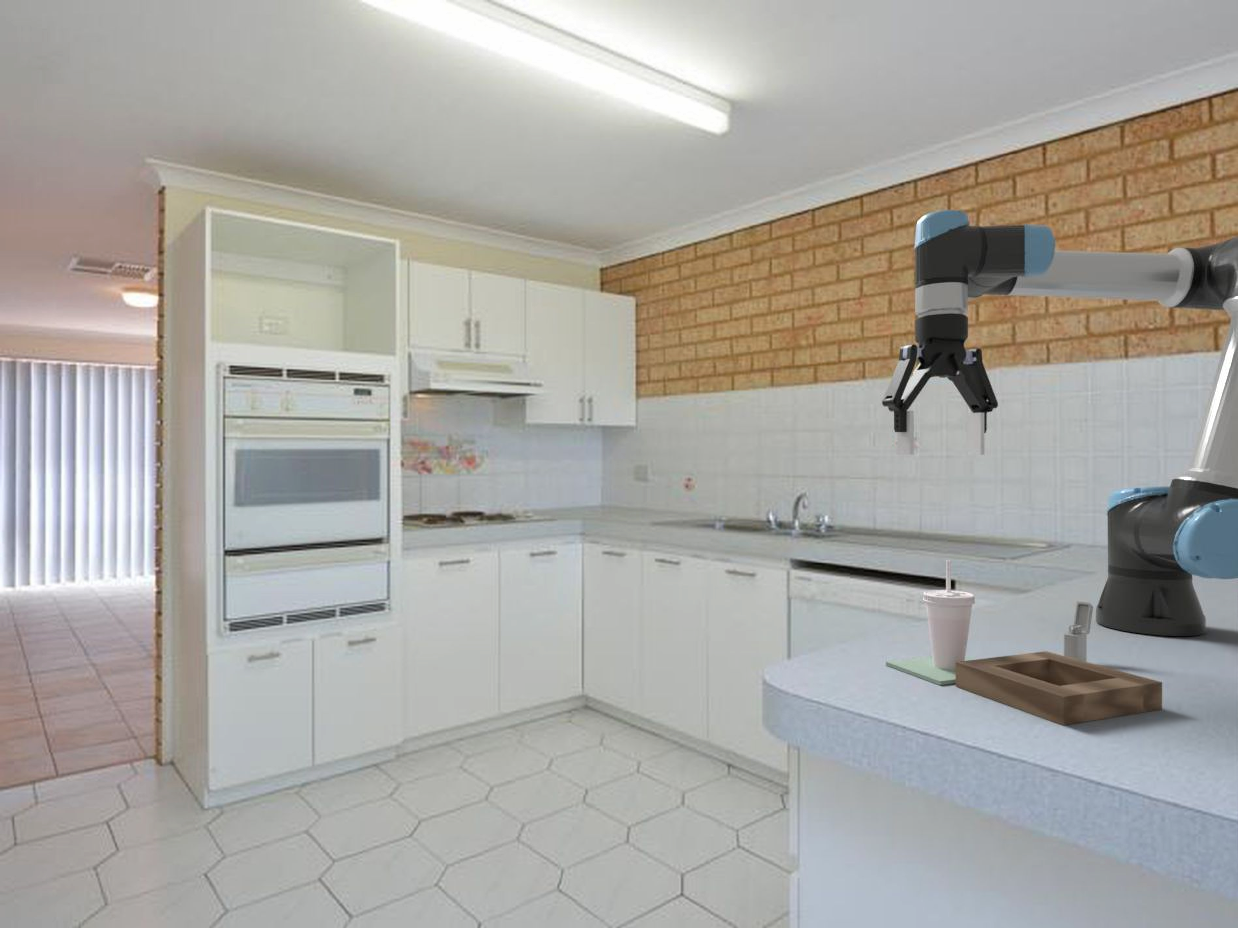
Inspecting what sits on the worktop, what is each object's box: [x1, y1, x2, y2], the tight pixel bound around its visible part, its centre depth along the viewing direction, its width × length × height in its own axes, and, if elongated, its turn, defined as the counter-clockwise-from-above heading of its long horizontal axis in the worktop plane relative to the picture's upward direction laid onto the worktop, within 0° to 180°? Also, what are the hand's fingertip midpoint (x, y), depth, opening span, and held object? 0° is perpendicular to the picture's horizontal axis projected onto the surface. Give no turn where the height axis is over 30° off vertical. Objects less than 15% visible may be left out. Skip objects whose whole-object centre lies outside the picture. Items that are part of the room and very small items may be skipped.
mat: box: [885, 656, 975, 686], centre depth 103 cm, size 12×10×1 cm
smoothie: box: [922, 559, 976, 670], centre depth 103 cm, size 6×6×14 cm
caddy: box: [955, 650, 1163, 726], centre depth 91 cm, size 15×15×3 cm
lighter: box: [1063, 601, 1094, 662], centre depth 107 cm, size 7×2×8 cm, turn 134°
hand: (941, 454), depth 118 cm, fingers open, 13 cm apart
